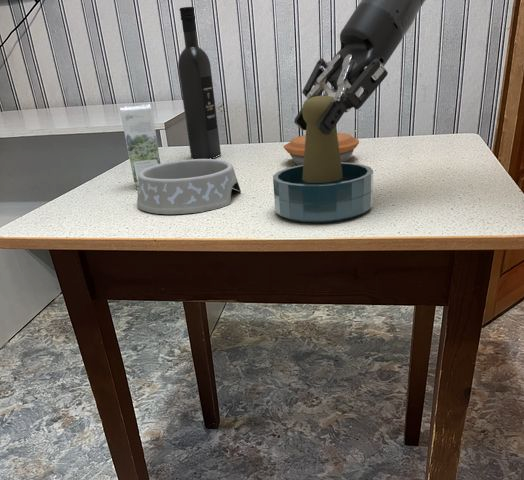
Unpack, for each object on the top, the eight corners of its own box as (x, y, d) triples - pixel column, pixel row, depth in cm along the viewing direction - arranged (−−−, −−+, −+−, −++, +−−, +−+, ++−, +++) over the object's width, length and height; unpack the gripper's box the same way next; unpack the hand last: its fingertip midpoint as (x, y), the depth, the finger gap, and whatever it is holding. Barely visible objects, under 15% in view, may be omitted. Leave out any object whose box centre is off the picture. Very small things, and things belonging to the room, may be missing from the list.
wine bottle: (223, 155, 127) (205, 5, 112) (209, 160, 123) (189, 6, 108) (203, 155, 130) (184, 8, 115) (189, 160, 126) (167, 9, 110)
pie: (369, 153, 115) (369, 128, 112) (344, 170, 103) (343, 143, 101) (303, 153, 122) (301, 129, 119) (272, 168, 110) (270, 143, 107)
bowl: (346, 192, 89) (345, 158, 87) (390, 213, 77) (391, 174, 75) (263, 206, 86) (260, 171, 83) (295, 231, 74) (293, 191, 71)
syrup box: (163, 180, 109) (150, 102, 102) (165, 186, 104) (151, 105, 97) (135, 184, 108) (119, 105, 101) (135, 190, 103) (119, 108, 96)
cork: (332, 184, 76) (330, 99, 70) (294, 181, 79) (290, 100, 73) (349, 173, 80) (349, 92, 75) (313, 172, 83) (310, 94, 77)
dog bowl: (249, 184, 100) (246, 154, 97) (223, 214, 84) (218, 179, 82) (163, 187, 103) (158, 158, 101) (123, 216, 88) (116, 183, 85)
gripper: (333, 4, 77) (267, 107, 78) (402, -5, 66) (323, 114, 67) (362, 43, 81) (299, 139, 83) (431, 41, 70) (357, 151, 72)
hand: (310, 128), depth 75 cm, fingers closed on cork, 5 cm apart
